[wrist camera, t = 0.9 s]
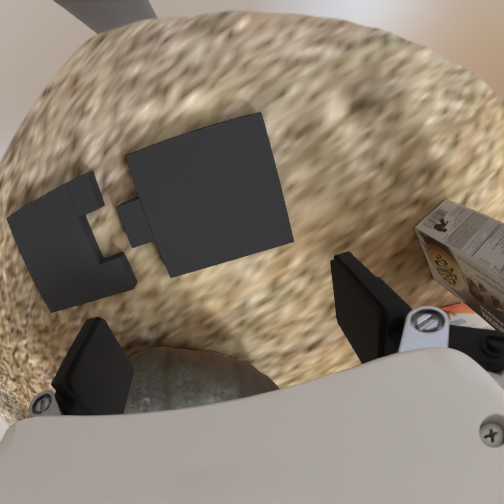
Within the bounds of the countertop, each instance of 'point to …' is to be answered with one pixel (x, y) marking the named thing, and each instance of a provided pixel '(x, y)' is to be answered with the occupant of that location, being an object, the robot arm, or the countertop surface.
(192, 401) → the gourd
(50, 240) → the base pad
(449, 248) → the coffee box
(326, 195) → the countertop surface
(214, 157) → the pad
